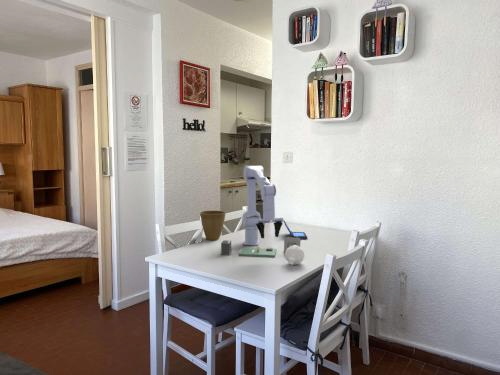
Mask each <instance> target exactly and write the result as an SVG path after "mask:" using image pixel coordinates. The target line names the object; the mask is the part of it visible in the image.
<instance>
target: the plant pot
mask: <svg viewBox="0 0 500 375" xmlns="http://www.w3.org/2000/svg"><path fill="white" fill-rule="evenodd" d="M199 213H200V221H201V225H202V229H203V233H204V236H205V239H206V240H208V241H217V240H220V237H221V234H222V231H223V228H224V224H225V220H226V211H223V210H204V211H202V210H201V211H200V212H199Z"/></svg>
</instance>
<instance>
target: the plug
mask: <svg viewBox="0 0 500 375" xmlns="http://www.w3.org/2000/svg"><path fill="white" fill-rule="evenodd" d="M231 253H232V240H223V241H222V242H220V256H230V255H231Z"/></svg>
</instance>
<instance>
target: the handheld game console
mask: <svg viewBox="0 0 500 375" xmlns="http://www.w3.org/2000/svg"><path fill="white" fill-rule="evenodd" d="M283 223H284V226H285V227H286V229H287V231H288V232H289V235H290V237H291V238H300V239H301V240H308V236H307V234H306V233H305V231H304V232H303V231H292V230H291V229H290V227H289V226H288V224H287V222H286V221H285V220H284V219H283Z"/></svg>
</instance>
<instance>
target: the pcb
mask: <svg viewBox="0 0 500 375" xmlns="http://www.w3.org/2000/svg"><path fill="white" fill-rule="evenodd" d="M256 246H257V247H242V248H241V250H240V251H239V253H238V256H240V257H241V256H243V257H261V258H262V257H263V258H264V257H266V258H276V254H277V248H273V247H266V248H263V247H262V248H261V247H260V245H256Z"/></svg>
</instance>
